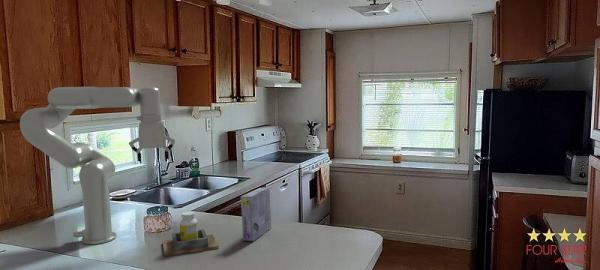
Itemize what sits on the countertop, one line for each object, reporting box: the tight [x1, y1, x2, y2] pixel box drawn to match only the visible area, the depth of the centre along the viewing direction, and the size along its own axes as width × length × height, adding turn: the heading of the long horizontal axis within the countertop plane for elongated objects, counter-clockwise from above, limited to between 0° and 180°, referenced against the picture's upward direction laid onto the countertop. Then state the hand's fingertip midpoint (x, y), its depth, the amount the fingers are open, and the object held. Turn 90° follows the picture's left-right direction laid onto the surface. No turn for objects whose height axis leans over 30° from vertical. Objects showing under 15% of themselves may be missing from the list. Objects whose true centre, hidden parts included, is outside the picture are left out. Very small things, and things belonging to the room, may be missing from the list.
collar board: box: [162, 228, 219, 257], centre depth 161 cm, size 19×14×4 cm
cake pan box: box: [240, 186, 272, 243], centre depth 172 cm, size 19×5×18 cm, turn 160°
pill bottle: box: [179, 211, 199, 241], centre depth 160 cm, size 6×6×12 cm
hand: (153, 162), depth 170 cm, fingers open, 9 cm apart
